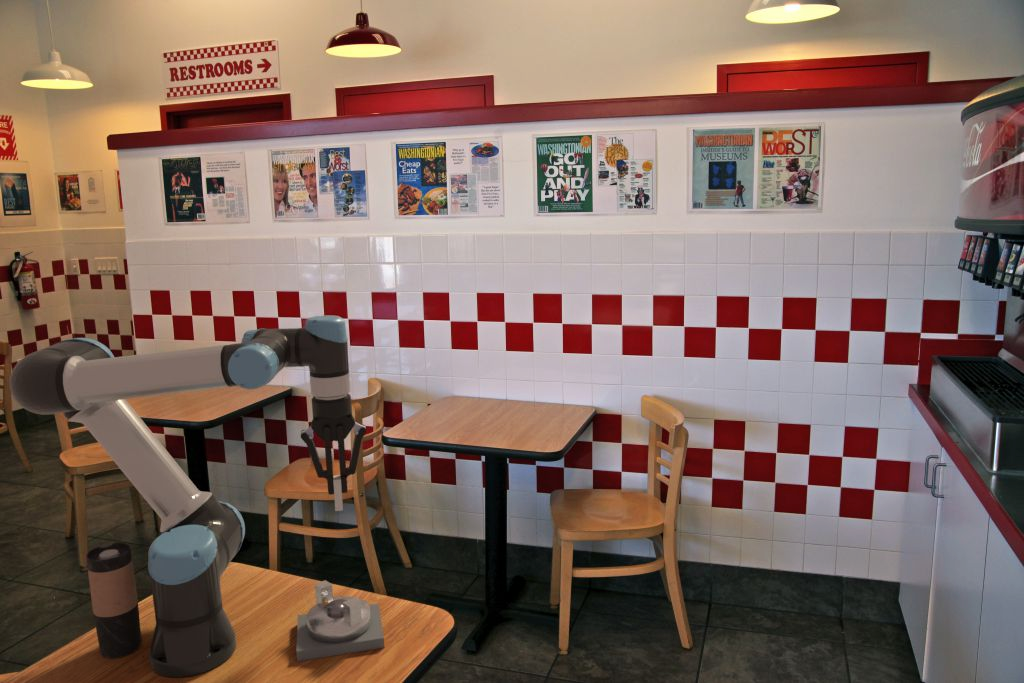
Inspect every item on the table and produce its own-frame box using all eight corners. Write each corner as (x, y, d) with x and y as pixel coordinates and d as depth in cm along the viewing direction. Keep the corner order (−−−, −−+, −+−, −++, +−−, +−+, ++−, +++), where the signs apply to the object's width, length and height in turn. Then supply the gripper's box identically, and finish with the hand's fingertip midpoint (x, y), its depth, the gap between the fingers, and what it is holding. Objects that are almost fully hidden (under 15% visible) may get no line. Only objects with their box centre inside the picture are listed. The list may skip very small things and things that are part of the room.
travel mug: (125, 661, 147) (112, 562, 143) (89, 657, 148) (75, 559, 144) (151, 638, 154) (139, 543, 150) (117, 635, 156) (104, 540, 152)
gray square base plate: (297, 661, 146) (296, 648, 145) (298, 624, 158) (297, 612, 157) (384, 647, 149) (383, 635, 149) (379, 612, 162) (378, 600, 161)
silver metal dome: (353, 646, 146) (351, 613, 145) (295, 637, 149) (293, 605, 148) (380, 612, 157) (379, 581, 156) (326, 605, 160) (324, 575, 159)
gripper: (363, 387, 159) (370, 497, 164) (297, 393, 156) (305, 504, 161) (366, 396, 152) (373, 511, 157) (296, 402, 149) (305, 519, 154)
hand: (339, 508), depth 159 cm, fingers closed
